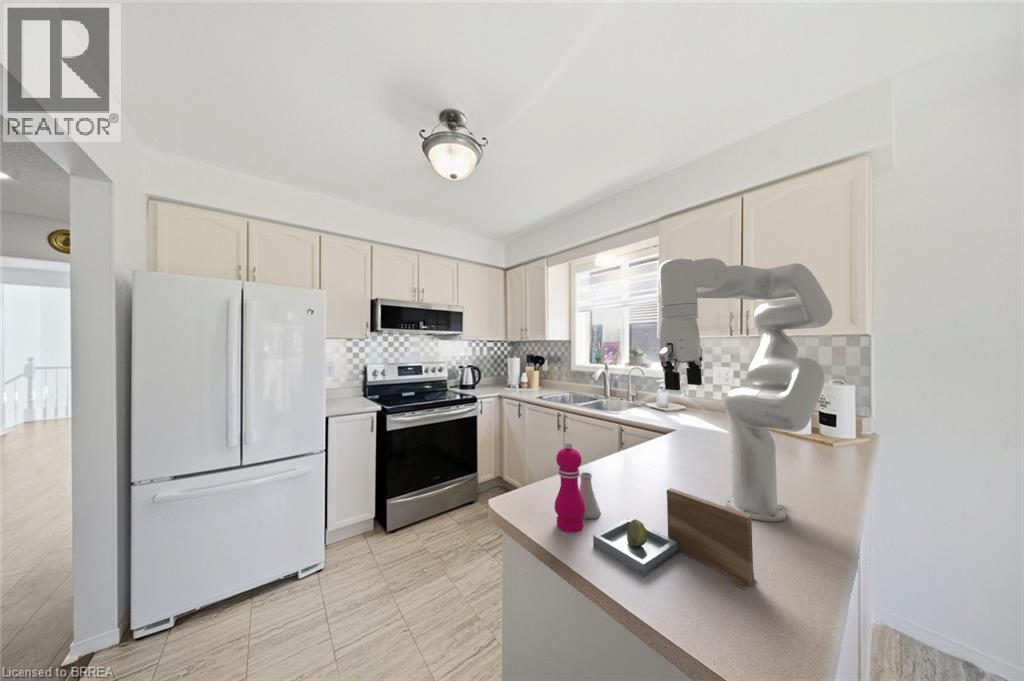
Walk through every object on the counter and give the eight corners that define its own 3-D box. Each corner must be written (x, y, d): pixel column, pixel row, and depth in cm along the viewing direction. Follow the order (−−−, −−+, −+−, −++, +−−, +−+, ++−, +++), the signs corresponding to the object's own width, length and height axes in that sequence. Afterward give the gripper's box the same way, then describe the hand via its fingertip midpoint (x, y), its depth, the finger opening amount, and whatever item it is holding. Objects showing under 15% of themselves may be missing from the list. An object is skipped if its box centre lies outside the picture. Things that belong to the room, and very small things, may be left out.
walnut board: (676, 541, 73) (675, 486, 73) (757, 579, 60) (755, 512, 61) (663, 549, 70) (662, 491, 70) (746, 591, 58) (743, 521, 58)
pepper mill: (578, 537, 75) (577, 448, 75) (549, 528, 79) (548, 443, 79) (589, 523, 81) (587, 440, 81) (562, 515, 85) (560, 436, 85)
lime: (639, 554, 67) (639, 528, 67) (619, 542, 71) (619, 519, 71) (652, 546, 69) (652, 522, 69) (632, 536, 73) (632, 513, 73)
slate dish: (627, 528, 78) (627, 518, 78) (678, 553, 68) (677, 541, 68) (593, 546, 71) (593, 535, 71) (643, 577, 61) (643, 564, 61)
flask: (601, 521, 82) (601, 480, 82) (572, 518, 83) (571, 478, 83) (600, 507, 89) (599, 469, 89) (572, 505, 90) (571, 468, 90)
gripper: (682, 315, 85) (686, 382, 85) (643, 315, 75) (647, 390, 75) (714, 312, 79) (718, 383, 79) (675, 311, 69) (680, 393, 69)
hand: (684, 387), depth 77 cm, fingers open, 9 cm apart
